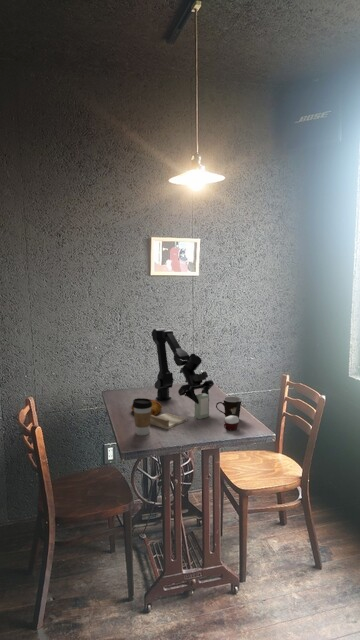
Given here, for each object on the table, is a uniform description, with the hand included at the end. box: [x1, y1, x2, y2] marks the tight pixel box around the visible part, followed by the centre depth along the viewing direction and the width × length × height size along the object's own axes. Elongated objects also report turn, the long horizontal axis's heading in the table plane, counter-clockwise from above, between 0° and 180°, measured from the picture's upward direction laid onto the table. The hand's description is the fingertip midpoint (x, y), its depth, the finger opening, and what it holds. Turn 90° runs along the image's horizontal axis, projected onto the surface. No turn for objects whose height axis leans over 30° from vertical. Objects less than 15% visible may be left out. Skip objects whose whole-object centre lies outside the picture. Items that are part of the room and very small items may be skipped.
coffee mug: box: [215, 396, 242, 419], centre depth 203 cm, size 12×9×10 cm
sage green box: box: [194, 393, 210, 420], centre depth 206 cm, size 4×6×11 cm, turn 125°
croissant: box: [130, 397, 163, 416], centre depth 213 cm, size 14×16×8 cm
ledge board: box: [150, 412, 187, 430], centre depth 200 cm, size 14×13×4 cm
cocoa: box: [223, 400, 242, 431], centre depth 190 cm, size 10×6×12 cm, turn 103°
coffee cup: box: [132, 397, 152, 436], centre depth 186 cm, size 8×8×15 cm
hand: (203, 402), depth 205 cm, fingers closed on sage green box, 6 cm apart
